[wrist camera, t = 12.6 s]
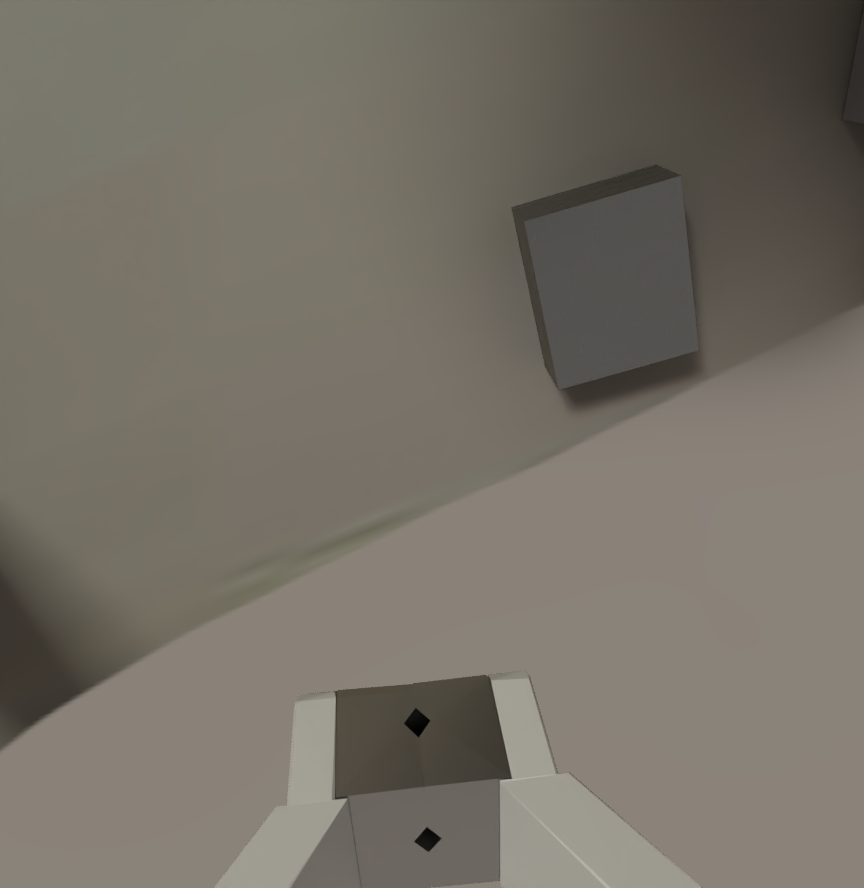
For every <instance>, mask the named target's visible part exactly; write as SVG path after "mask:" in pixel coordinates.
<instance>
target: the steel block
mask: <svg viewBox="0 0 864 888" xmlns="http://www.w3.org/2000/svg"><path fill="white" fill-rule="evenodd" d="M511 208H512V213H513V217H514V222H515V227H516V231H517V236H518V241H519V246H520V250H521V255H522V260H523V265H524V269H525V274H526V279H527V284H528V288H529V293H530V298H531V303H532V307H533V312H534V317H535V321H536V326H537V331H538V336H539V340H540V345H541V350H542V355H543V359H544V364H545V367H546V369H547V371H548V372H549V374H550V376H551V377H552V379H553V381H554V383H555V384H556V386H557V388H558V390H561V389H564V388H568V387H571V386H575V385H578V384H582V383H585V382H589V381H593V380H596V379H600V378H603V377H607V376H610V375H614V374H617V373H621V372H624V371H628V370H632V369H635V368H639V367H642V366H646V365H649V364H653V363H656V362H660V361H663V360H667V359H671V358H674V357H678V356H681V355H685V354H688V353H692V352H695V351H699V344H698V335H697V325H696V315H695V306H694V296H693V286H692V277H691V267H690V257H689V248H688V238H687V228H686V219H685V209H684V199H683V190H682V180H681V175H678V174H676V173H674V172H672V171H670V170H667V169H665V168H663V167H661V166H658V165H653V166H650V167H647V168H643V169H640V170H636V171H633V172H630V173H626V174H623V175H620V176H616V177H613V178H609V179H606V180H603V181H599V182H596V183H592V184H589V185H586V186H582V187H579V188H575V189H572V190H569V191H565V192H562V193H558V194H555V195H552V196H548V197H545V198H541V199H538V200H535V201H531V202H528V203H525V204H521V205H518V206H514V207H511Z"/></svg>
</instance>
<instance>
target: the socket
mask: <svg viewBox="0 0 864 888" xmlns="http://www.w3.org/2000/svg"><path fill="white" fill-rule="evenodd" d="M842 120H846V121H851V122H857V123H862V124H864V8H863V14H862V19H861V24H860V29H859V35H858V40H857V45H856V50H855V56H854V61H853V66H852V71H851V77H850V82H849V87H848V92H847V98H846V103H845V108H844V113H843V118H842Z"/></svg>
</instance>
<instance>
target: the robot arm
mask: <svg viewBox="0 0 864 888" xmlns="http://www.w3.org/2000/svg"><path fill="white" fill-rule="evenodd" d="M290 760H291V761H290V772H289V785H288V799H287V805H284V806H277V807H274V809H273V810H272V811H271V813H270V814H269V815H268V817H267V818H266V819H265V821H264V822H263V823H262V825H261V826H260V827H259V828H258V830H257V831H256V832H255V834H254V835H253V836H252V838H251V839H250V840H249V842H248V843H247V844H246V846H245V847H244V848H243V850H242V851H241V852H240V854H239V855H238V856H237V858H236V859H235V860H234V862H233V863H232V864H231V866H230V867H229V868H228V869H227V871H226V872H225V873H224V875H223V876H222V877H221V879H220V880H219V881H218V883H217V884H216V886H215V887H214V888H430V887H431V886H432V887H440V886H451V885H461V884H470V883H471V884H472V883H482V882H493V881H500V885H501V886H502V887H503V888H701V887H700V886H699V885H698V884H697V883H696V882H695V881H694V880H692V879H691V878H690V877H689V876H688V875H687V874H686V873H684V872H683V871H682V870H681V869H680V868H679V867H677V866H676V865H675V864H674V863H673V862H672V861H671V860H670V859H668V858H667V857H666V856H665V855H664V854H663V853H661V852H660V851H659V850H658V849H657V848H656V847H655V846H653V845H652V844H651V843H650V842H649V841H648V840H647V839H645V838H644V837H643V836H642V835H641V834H640V833H638V832H637V831H636V830H635V829H634V828H633V827H632V826H630V825H629V824H628V823H627V822H626V821H625V820H624V819H622V818H621V817H620V816H619V815H618V814H617V813H616V812H614V811H613V810H612V809H611V808H610V807H609V806H608V805H606V804H605V803H604V802H603V801H602V800H601V799H600V798H598V797H597V796H596V795H595V794H594V793H593V792H592V791H590V790H589V789H588V788H587V787H586V786H585V785H584V784H582V783H581V782H580V781H579V780H578V779H577V778H575V777H574V776H573V775H572V774H571V773H559V774H558V771H557V768H556V765H555V761H554V758H553V755H552V751H551V747H550V744H549V740H548V737H547V734H546V730H545V727H544V724H543V720H542V716H541V713H540V709H539V706H538V703H537V699H536V696H535V692H534V689H533V685H532V682H531V679H530V676H529V674H528V673H527V672H526V671H525V670H524V671H515V672H507V673H498V674H490V675H488V677H487V675H480V676H472V677H463V678H455V679H447V680H438V681H429V682H421V683H413V684H409V685H397V686H384V687H371V688H359V689H347V690H338V691H333V692H321V693H308V694H298V696H297V699H296V702H295V706H294V719H293V733H292V746H291V759H290Z"/></svg>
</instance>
